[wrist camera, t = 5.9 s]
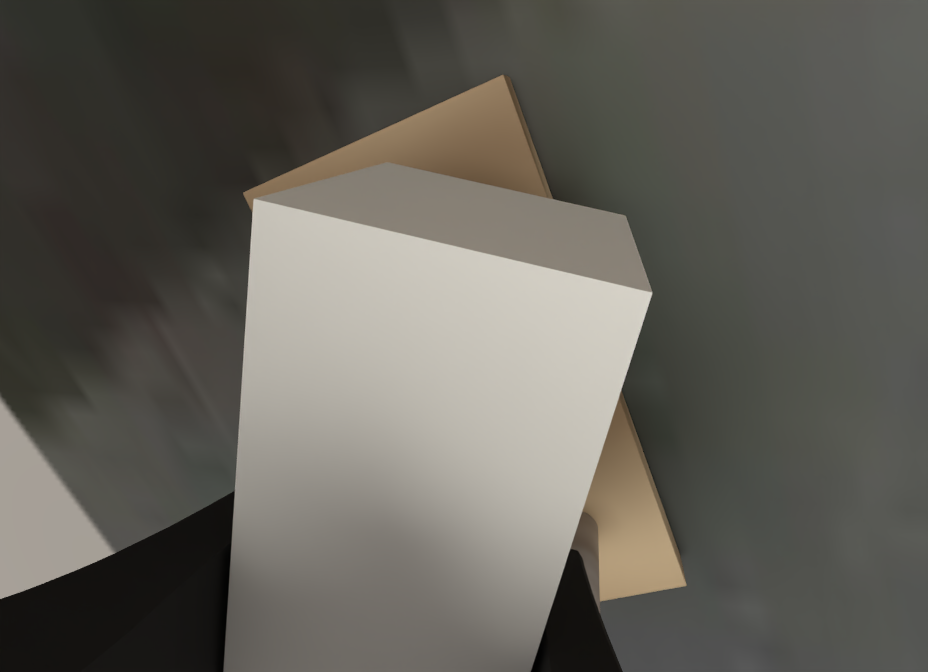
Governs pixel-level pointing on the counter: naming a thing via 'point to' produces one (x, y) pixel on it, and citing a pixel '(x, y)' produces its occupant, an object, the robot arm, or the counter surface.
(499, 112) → the peg stand
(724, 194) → the counter surface
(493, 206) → the white rectangular block
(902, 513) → the counter surface
